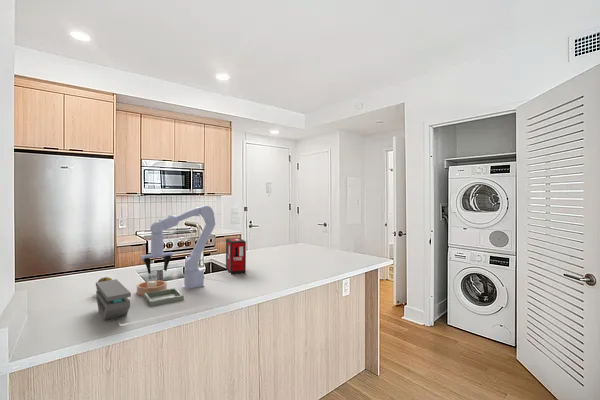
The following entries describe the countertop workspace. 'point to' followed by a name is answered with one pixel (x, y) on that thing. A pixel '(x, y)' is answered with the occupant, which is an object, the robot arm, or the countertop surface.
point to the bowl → (143, 287)
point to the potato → (104, 280)
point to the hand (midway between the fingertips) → (157, 271)
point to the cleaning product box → (236, 255)
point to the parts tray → (163, 296)
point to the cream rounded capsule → (151, 284)
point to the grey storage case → (112, 299)
